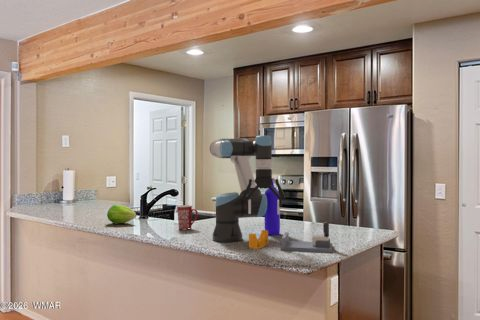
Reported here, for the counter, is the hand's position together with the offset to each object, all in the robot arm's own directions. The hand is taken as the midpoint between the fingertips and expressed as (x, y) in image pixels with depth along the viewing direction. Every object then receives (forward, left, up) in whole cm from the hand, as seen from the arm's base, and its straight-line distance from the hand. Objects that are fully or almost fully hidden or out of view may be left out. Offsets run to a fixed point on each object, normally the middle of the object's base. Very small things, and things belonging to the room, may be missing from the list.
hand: (264, 213), depth 183 cm
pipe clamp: (-2, -1, -15) cm, 15 cm away
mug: (-52, +33, -15) cm, 64 cm away
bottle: (-1, +28, -15) cm, 32 cm away
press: (+20, -1, -15) cm, 25 cm away
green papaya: (-100, +42, -15) cm, 110 cm away
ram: (+26, -1, -13) cm, 29 cm away
